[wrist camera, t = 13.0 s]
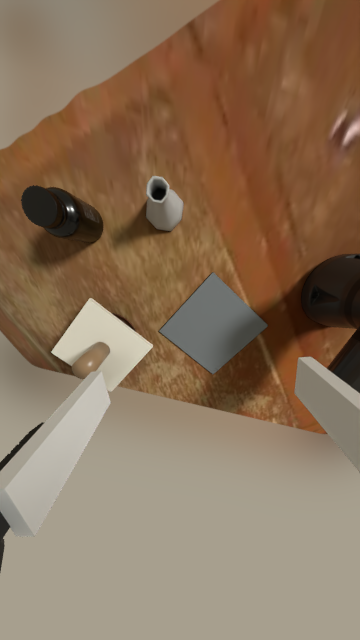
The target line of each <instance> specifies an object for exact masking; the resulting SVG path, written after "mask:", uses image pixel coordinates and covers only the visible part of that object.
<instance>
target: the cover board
mask: <svg viewBox="0 0 360 640" xmlns="http://www.w3.org/2000/svg"><path fill="white" fill-rule="evenodd" d="M152 347H153V345H152V344H151V343H150V342H148V341H147V340H146V339H144V338H143V337H142V336H140V335H139V334H138V333H136V332H135V331H134V330H133V329H131V328H130V327H129V326H127V325H126V324H125V323H123V322H122V321H121V320H119V319H118V318H117V317H116V316H114V315H113V314H112V313H110V312H109V311H108V310H106V309H105V308H104V307H102V306H101V305H100V304H99V303H97V302H96V301H95V300H93V299H92V298H90V299H89V300H88V301H87V303H86V304H85V306H84V307H83V308H82V310H81V311H80V313H79V314H78V315H77V317H76V318H75V320H74V321H73V322H72V324H71V325H70V326H69V328H68V329H67V331H66V332H65V333H64V335H63V336H62V338H61V339H60V340H59V342H58V343H57V345H56V346H55V347H54V349H53V350H52V352H51V353H52V354H54V355H55V356H57V357H58V358H60V359H62V360H63V361H65V362H66V363H68V364H69V365H71V366H72V372H73V374H74V375H75V376H76V377H78V378H80V379H85V378H86V377H87V376H88V375H89V374H90V373H91V372H95V371H102V374H103V378H104V381H105V385H106V388H107V389H108V390H109V391H112V390H113V389H114V388H115V387H116V386H117V385H118V384H119V383H120V382H121V381H122V380H123V379H124V377H125V376H126V375H127V374H128V373H129V372H130V371H131V370H132V369H133V368H134V367H135V366H136V364H137V363H138V362H139V361H140V360H141V359H142V358H143V357H144V356H145V355H146V354H147V353H148V352H149V350H150V349H151V348H152Z"/></svg>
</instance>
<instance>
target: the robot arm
mask: <svg viewBox="0 0 360 640" xmlns="http://www.w3.org/2000/svg"><path fill="white" fill-rule="evenodd" d="M301 301H302V307H303V309H304V311H305V313H306V315H307V316H308V317H309V318H310V319H312V320H313V321H315V322H318V323H320V324H322V325H325V326H329V327H340V328H354V329H357V330H356V332H355V333H354V334H353V335H352V337H351V338H350V339H349V340H348V342H347V343H346V344H345V345H344V347H343V348H342V349H341V351H340V352H339V353H338V354H337V356H336V357H335V358H334V360H333V361H332V362H331V363H330V365H329V366H328V367H327V368H325V367H324V366H323V365H321V364H320V363H319V362H317V361H316V360H315V359H313V358H312V357H301V358H298V366H297V375H296V384H295V394H296V396H297V397H298V398H299V399H300V400H301V402H302V403H303V404H304V405H305V407H306V408H307V409H308V410H309V411H310V413H311V414H312V415H313V416H314V417H315V419H316V420H317V421H318V422H319V424H320V425H321V426H322V427H323V428H324V430H325V431H326V432H327V433H328V434H329V436H330V437H331V438H332V439H333V440H334V442H335V443H336V444H337V445H338V446H339V448H340V449H341V450H342V451H343V453H344V454H345V455H346V456H347V457H348V459H349V460H350V461H351V462H352V464H353V465H354V466H355V467H356V468H357V470H358V471H359V472H360V254H343V255H338V256H335V257H332V258H330V259H328V260H326V261H324V262H323V263H322V264H320V265H319V266H318V267H317V268H316V269H315V270H314V271H313V272H312V273H311V274H310V276H309V277H308V279H307V280H306V282H305V284H304V287H303V290H302V296H301ZM110 403H111V402H110V399H109V396H108V392H107V388H106V385H105V381H104V378H103V374H102V371H95V372H91V373H90V374H89V375H88V376H87V377H86V378H85V379H84V380H83V381H82V382H81V383H80V385H79V386H78V387H77V388H76V389H75V390H74V391H73V392H72V394H70V395H69V397H68V398H67V399H66V400H65V401H64V402H63V403H62V404H61V405H60V407H59V408H58V409H57V410H56V411H55V412H54V413H53V414H52V415H51V416H50V417H49V419H48V420H47V421H46V422H45V423H41V424H39V425H38V426H37V427H35V428H34V429H33V430H31V431H30V432H29V433H28V434H27V435H26V436H25V437H24V438H23V439H22V440H21V441H20V442H19V445H17V446H16V447H15V448H14V449H13V450H12V451H11V453H10V454H8V455H7V456H6V457H5V458H4V459H3V460H2V461H1V462H0V571H1V564H2V558H3V552H4V539H3V537H4V535H5V534H6V532H7V531H8V529H9V528H11V529H12V531H13V532H14V534H15V535H16V536H35V535H36V534H37V532H38V530H39V528H40V526H41V525H42V523H43V521H44V519H45V517H46V516H47V514H48V512H49V511H50V509H51V507H52V505H53V504H54V502H55V500H56V498H57V496H58V495H59V493H60V491H61V489H62V488H63V486H64V484H65V482H66V480H67V479H68V477H69V475H70V473H71V472H72V470H73V468H74V466H75V465H76V463H77V461H78V459H79V458H80V456H81V454H82V452H83V450H84V449H85V447H86V445H87V444H88V442H89V440H90V438H91V437H92V435H93V433H94V431H95V430H96V428H97V426H98V424H99V422H100V421H101V419H102V417H103V415H104V414H105V412H106V410H107V408H108V407H109V405H110Z"/></svg>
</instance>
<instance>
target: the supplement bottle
mask: <svg viewBox="0 0 360 640" xmlns="http://www.w3.org/2000/svg"><path fill="white" fill-rule="evenodd" d="M21 201H22V208H23V210H24V213H25V214H26V216H27V217H28V219H29V220H31V222H33V223H34V224H36V225H38V226H41V227H43V228H44V229H45V230H46V231H47V232H49V233H50V234H52V235H54V236H56V237H59V238H64V239H69V240H75V241H81V242H88V243H89V242H94V241H96V240H98V239H99V238H100V236H101V235H102V232H103V221H102V218H101V216H100V214H99V212H98V211H97V210H96V209H95V208H94V207H92V206H91V205H89V204H87V203H86V202H84V201H82V200H81V199H79V198H77V197H75V196H74V195H72V194H70V193H68V192H67V191H65V190H63V189H60V188H56V187H49V188H46V189H45V188H43V187H41V186H34V185H33V186H30V187H29V188H27V189H26V190H25V191H24V192H23V195H22V199H21Z"/></svg>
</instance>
